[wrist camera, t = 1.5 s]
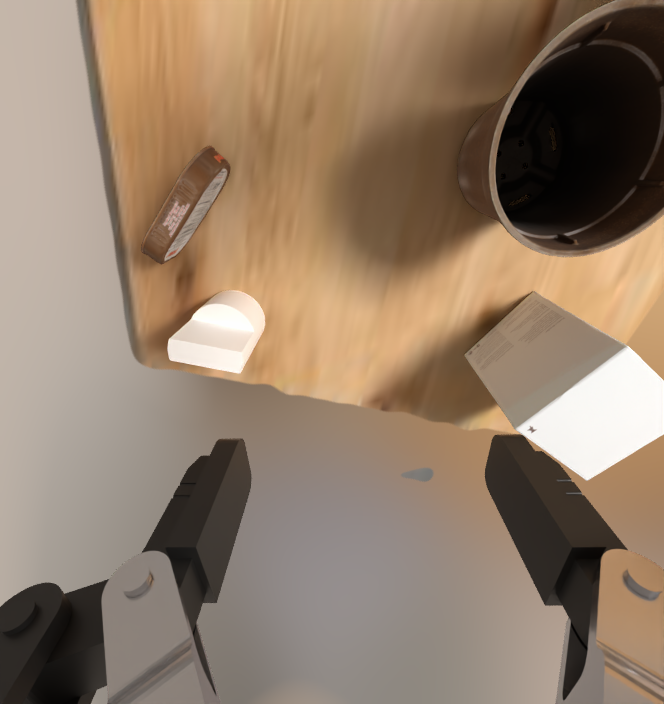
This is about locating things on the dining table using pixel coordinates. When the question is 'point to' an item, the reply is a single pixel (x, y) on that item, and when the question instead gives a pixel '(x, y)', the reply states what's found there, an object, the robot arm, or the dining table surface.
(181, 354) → the cylinder with rectangular tab
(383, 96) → the dining table surface
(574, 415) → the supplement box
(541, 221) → the plant pot
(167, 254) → the tin
